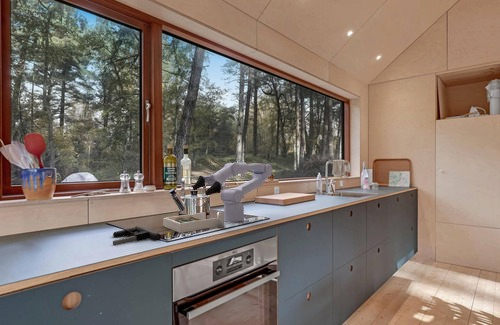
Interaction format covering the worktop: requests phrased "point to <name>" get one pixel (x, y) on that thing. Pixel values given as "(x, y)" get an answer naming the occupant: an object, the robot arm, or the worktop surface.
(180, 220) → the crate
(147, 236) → the door handle
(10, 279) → the worktop surface
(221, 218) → the handle
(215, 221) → the tray
